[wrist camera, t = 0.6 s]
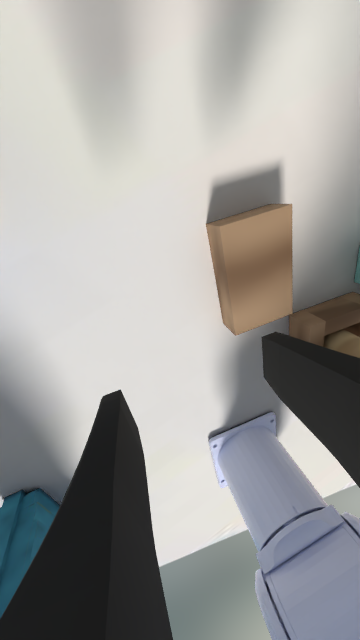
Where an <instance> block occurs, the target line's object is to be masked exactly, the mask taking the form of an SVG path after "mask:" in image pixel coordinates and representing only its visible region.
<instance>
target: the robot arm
mask: <svg viewBox="0 0 360 640" xmlns="http://www.w3.org/2000/svg"><path fill="white" fill-rule="evenodd" d="M262 351H263V370H264V378H265V379H266V380H267V382H268V383H269V385H270V386H271V387H272V389H273V390H274V391H275V393H276V394H277V395H278V397H279V398H280V399H281V400H282V401H283V402H284V403H285V405H286V406H287V407H288V408H289V409H290V410H291V411H292V412H293V413H294V414H295V415H296V416H297V417H298V418H299V419H300V420H301V421H302V423H303V424H304V425H305V426H306V427H307V428H308V429H309V430H310V431H311V432H312V433H313V434H314V435H315V436H316V437H317V438H318V439H319V440H320V441H321V442H322V444H323V445H324V446H325V447H326V448H327V449H328V450H329V451H330V452H331V453H332V455H333V456H334V457H335V458H336V459H337V460H338V461H339V463H340V464H341V465H342V466H343V468H344V469H345V470H346V471H347V473H348V474H349V475H350V476H351V478H352V479H353V480H354V481H355V483H356V484H357V485H358V486H359V488H360V358H358V357H355V356H351V355H348V354H344V353H341V352H338V351H335V350H331V349H328V348H325V347H322V346H319V345H316V344H313V343H310V342H307V341H304V340H301V339H298V338H294V337H291V336H288V335H285V334H281V333H278V332H274V333H271V334H269V335H266V336H263V337H262ZM209 446H210V450H211V454H212V458H213V462H214V466H215V470H216V474H217V479H218V483H219V486H220V488H224V487H226V486H229V489H230V491H231V493H232V495H233V497H234V499H235V502H236V504H237V506H238V508H239V510H240V513H241V515H242V517H243V519H244V521H245V523H246V526H247V528H248V530H249V532H250V534H251V536H252V539H253V541H254V543H255V545H256V547H257V550H258V552H259V553H257V554H256V557H257V560H258V562H259V564H260V566H261V568H260V569H258V570H257V571H256V574H255V575H256V580H255V591H256V595H257V599H258V602H259V606H260V609H261V612H262V614H263V617H264V620H265V623H266V625H267V628H268V630H269V633H270V635H271V638H272V640H360V518H359V517H357V516H354V515H351V514H349V513H348V512H343V513H342V514H341V515H340V514H339V513H338V512H337V510H336V509H335V508H334V507H333V505H329V506H328V505H327V503H326V502H325V501H324V499H323V498H322V497H321V496H320V494H319V493H318V492H317V490H316V489H315V488H314V486H313V485H312V484H311V482H310V481H309V480H308V478H307V477H306V476H305V475H304V473H303V472H302V471H301V469H300V468H299V467H298V465H297V464H296V463H295V461H294V460H293V459H292V457H291V456H290V455H289V454H288V452H287V451H286V450H285V448H284V447H283V446H282V444H281V443H280V442H279V440H278V439H277V438H276V415H275V414H274V413H273V412H270V413H268V414H265V415H263V416H261V417H258V418H256V419H254V420H251V421H249V422H247V423H245V424H242V425H240V426H238V427H235V428H233V429H231V430H228V431H226V432H224V433H221V434H219V435H217V436H215V437H212V438H211V439H210V440H209ZM0 640H173V637H172V632H171V628H170V622H169V617H168V612H167V608H166V603H165V597H164V592H163V587H162V582H161V577H160V572H159V566H158V561H157V556H156V551H155V544H154V537H153V530H152V521H151V513H150V504H149V495H148V486H147V477H146V468H145V460H144V453H143V449H142V444H141V440H140V435H139V431H138V427H137V425H136V423H135V420H134V418H133V416H132V414H131V411H130V409H129V407H128V405H127V403H126V400H125V398H124V396H123V394H122V392H121V390H118V391H115V392H113V393H110V394H107V395H105V396H103V398H102V399H101V402H100V406H99V409H98V412H97V415H96V418H95V421H94V424H93V427H92V430H91V433H90V435H89V438H88V441H87V443H86V446H85V449H84V451H83V454H82V456H81V459H80V461H79V464H78V466H77V469H76V471H75V473H74V476H73V478H72V480H71V483H70V485H69V487H68V489H67V492H66V494H65V496H64V498H63V501H62V503H61V505H60V507H59V509H58V511H57V513H56V515H55V518H54V520H53V522H52V524H51V526H50V528H49V530H48V532H47V534H46V536H45V538H44V539H43V541H42V543H41V545H40V547H39V549H38V551H37V553H36V555H35V557H34V559H33V560H32V562H31V564H30V566H29V568H28V570H27V571H26V573H25V575H24V577H23V579H22V581H21V582H20V584H19V586H18V588H17V590H16V592H15V593H14V595H13V597H12V599H11V600H10V602H9V604H8V606H7V608H6V609H5V611H4V613H3V615H2V616H1V618H0Z"/></svg>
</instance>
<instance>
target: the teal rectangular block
mask: <svg viewBox="0 0 360 640" xmlns="http://www.w3.org/2000/svg"><path fill="white" fill-rule="evenodd" d="M354 282H356V283H359V284H360V247H359V254H358V260H357V267H356V273H355V280H354Z"/></svg>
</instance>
